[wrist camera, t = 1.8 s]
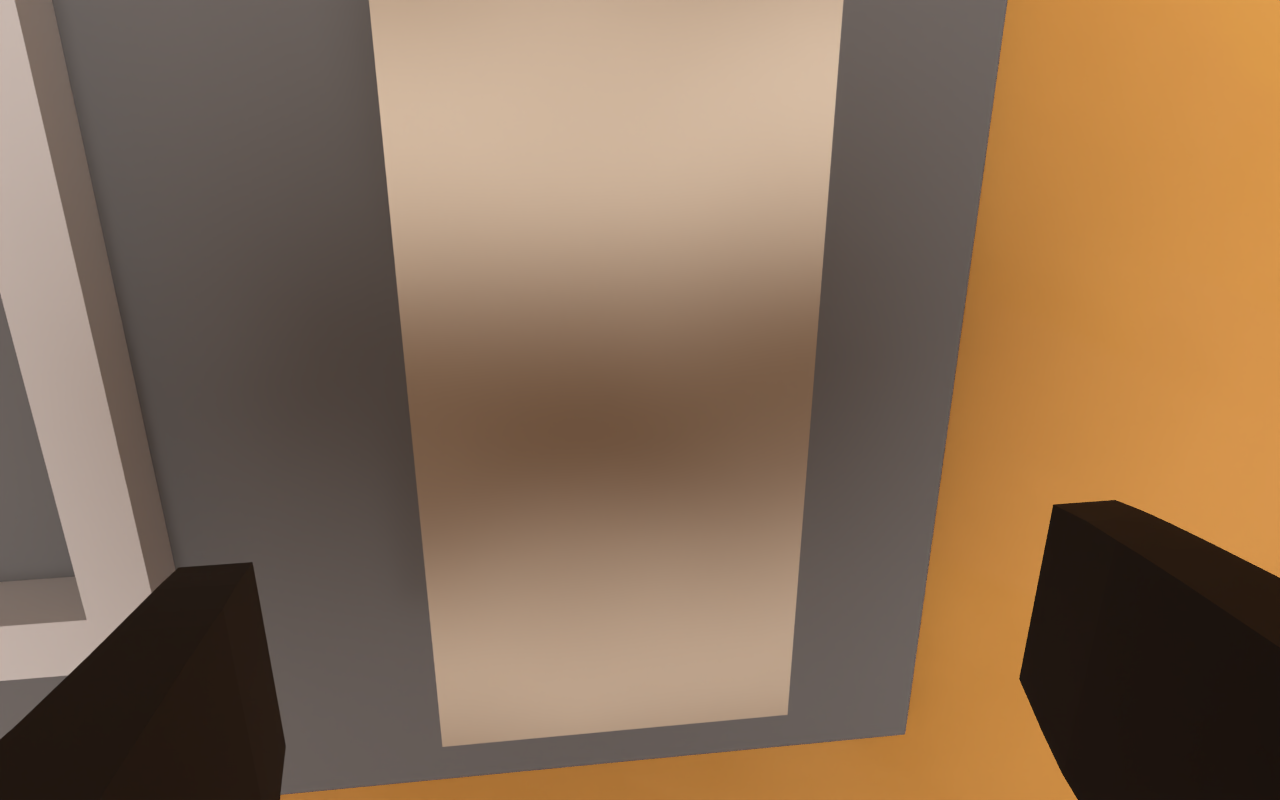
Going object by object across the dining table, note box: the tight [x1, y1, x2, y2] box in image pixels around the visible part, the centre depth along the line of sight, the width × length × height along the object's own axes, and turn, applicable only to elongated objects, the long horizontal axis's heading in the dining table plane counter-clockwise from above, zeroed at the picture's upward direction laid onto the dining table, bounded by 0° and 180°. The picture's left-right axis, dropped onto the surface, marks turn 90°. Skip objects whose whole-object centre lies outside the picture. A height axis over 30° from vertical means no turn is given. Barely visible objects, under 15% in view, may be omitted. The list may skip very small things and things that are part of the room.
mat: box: [0, 0, 1007, 795], centre depth 16 cm, size 18×28×2 cm, turn 90°
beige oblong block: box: [369, 0, 843, 747], centre depth 15 cm, size 10×5×4 cm, turn 0°
